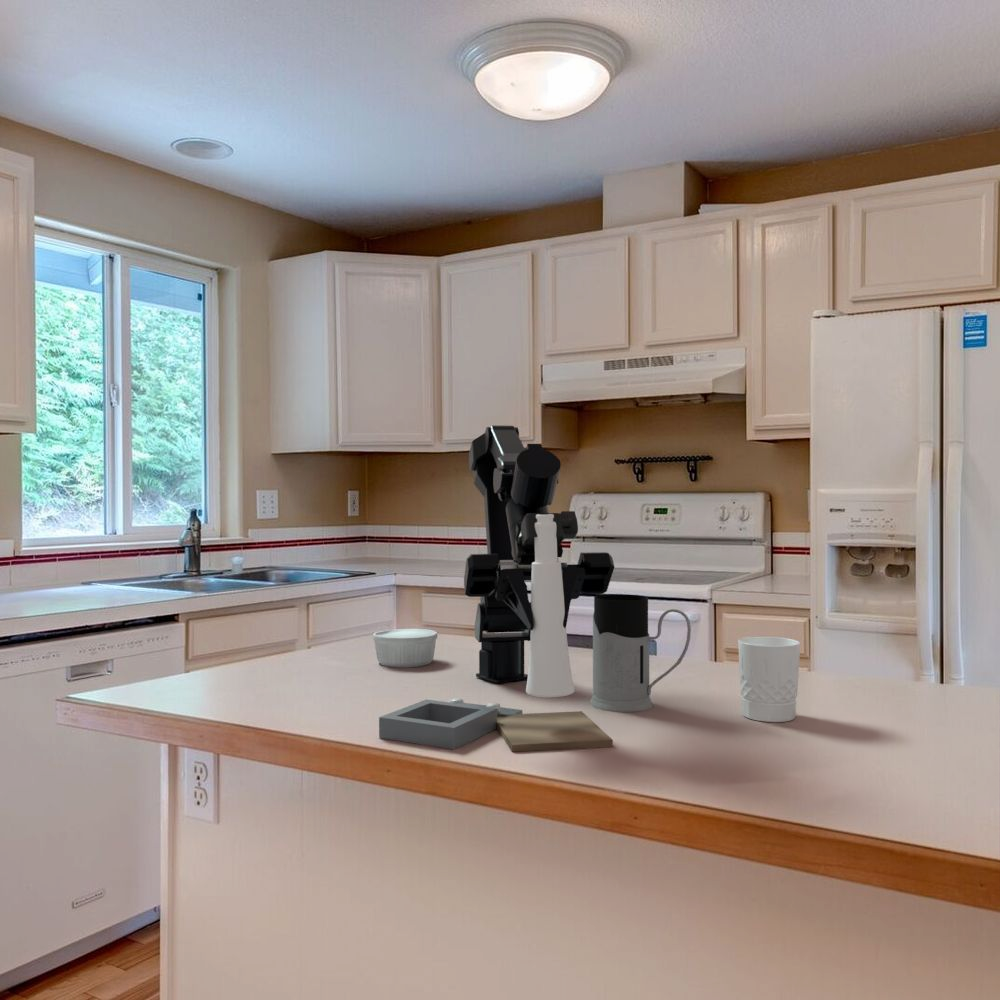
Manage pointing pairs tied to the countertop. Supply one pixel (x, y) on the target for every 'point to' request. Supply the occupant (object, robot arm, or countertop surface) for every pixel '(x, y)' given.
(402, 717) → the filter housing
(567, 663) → the cosmetic bottle
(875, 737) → the countertop surface
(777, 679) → the white cup
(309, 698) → the countertop surface
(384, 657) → the ramekin
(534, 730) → the walnut pad
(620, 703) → the glass holder
